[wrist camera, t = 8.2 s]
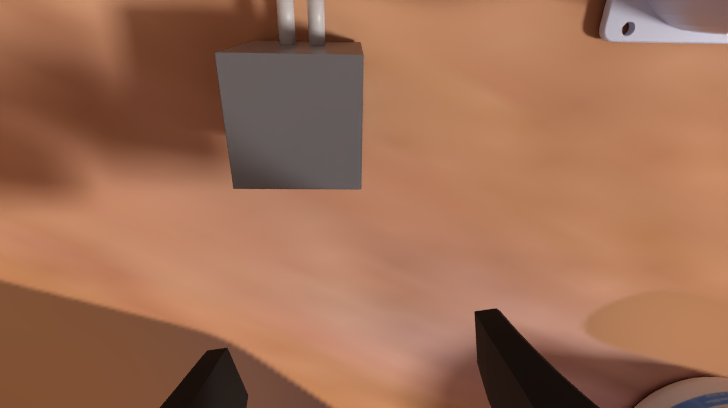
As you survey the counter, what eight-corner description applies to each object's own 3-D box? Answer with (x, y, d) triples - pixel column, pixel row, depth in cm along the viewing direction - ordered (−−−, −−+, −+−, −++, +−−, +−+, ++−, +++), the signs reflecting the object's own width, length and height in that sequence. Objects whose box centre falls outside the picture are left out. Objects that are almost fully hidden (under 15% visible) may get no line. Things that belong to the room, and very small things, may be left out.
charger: (247, -16, 15) (203, -27, 11) (361, -14, 15) (364, -23, 11) (263, 144, 18) (233, 188, 14) (359, 145, 18) (361, 189, 14)
